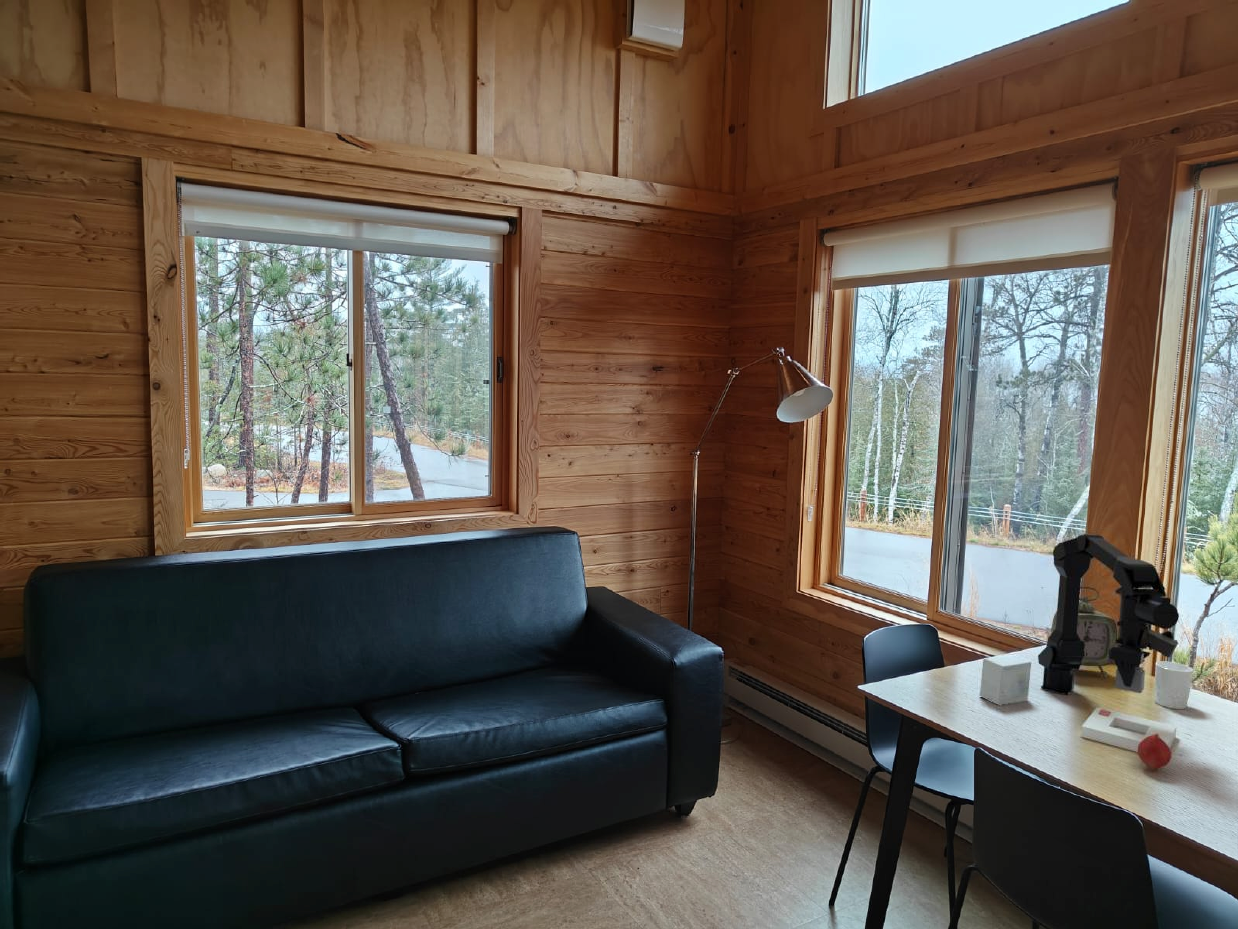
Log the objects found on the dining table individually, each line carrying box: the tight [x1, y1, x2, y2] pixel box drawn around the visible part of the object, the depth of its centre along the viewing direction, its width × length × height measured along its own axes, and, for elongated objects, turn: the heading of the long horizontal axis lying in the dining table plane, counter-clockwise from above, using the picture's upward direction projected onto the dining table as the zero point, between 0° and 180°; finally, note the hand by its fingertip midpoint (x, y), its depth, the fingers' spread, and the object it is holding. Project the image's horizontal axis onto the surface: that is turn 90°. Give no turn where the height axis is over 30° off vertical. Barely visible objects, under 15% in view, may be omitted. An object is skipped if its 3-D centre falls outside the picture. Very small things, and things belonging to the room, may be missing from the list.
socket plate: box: [1080, 707, 1177, 753], centre depth 186 cm, size 16×16×3 cm
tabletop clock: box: [1050, 585, 1118, 678], centre depth 229 cm, size 14×9×25 cm, turn 82°
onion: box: [1137, 733, 1172, 771], centre depth 169 cm, size 6×6×8 cm
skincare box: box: [979, 654, 1032, 706], centre depth 207 cm, size 10×6×10 cm, turn 114°
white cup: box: [1154, 660, 1194, 710], centre depth 207 cm, size 8×8×10 cm
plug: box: [1114, 666, 1146, 694], centre depth 186 cm, size 5×4×5 cm
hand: (1129, 684), depth 187 cm, fingers closed on plug, 4 cm apart
